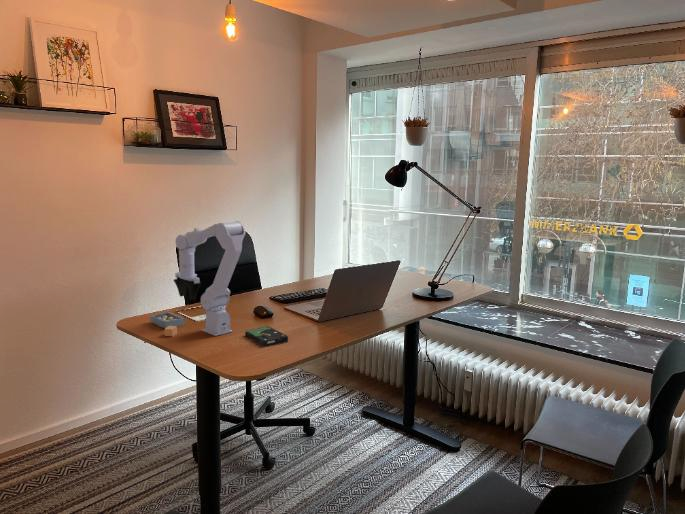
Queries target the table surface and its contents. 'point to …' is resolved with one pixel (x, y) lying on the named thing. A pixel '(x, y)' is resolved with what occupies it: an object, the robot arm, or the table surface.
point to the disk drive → (266, 336)
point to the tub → (167, 320)
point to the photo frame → (197, 318)
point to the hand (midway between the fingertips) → (187, 297)
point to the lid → (170, 330)
